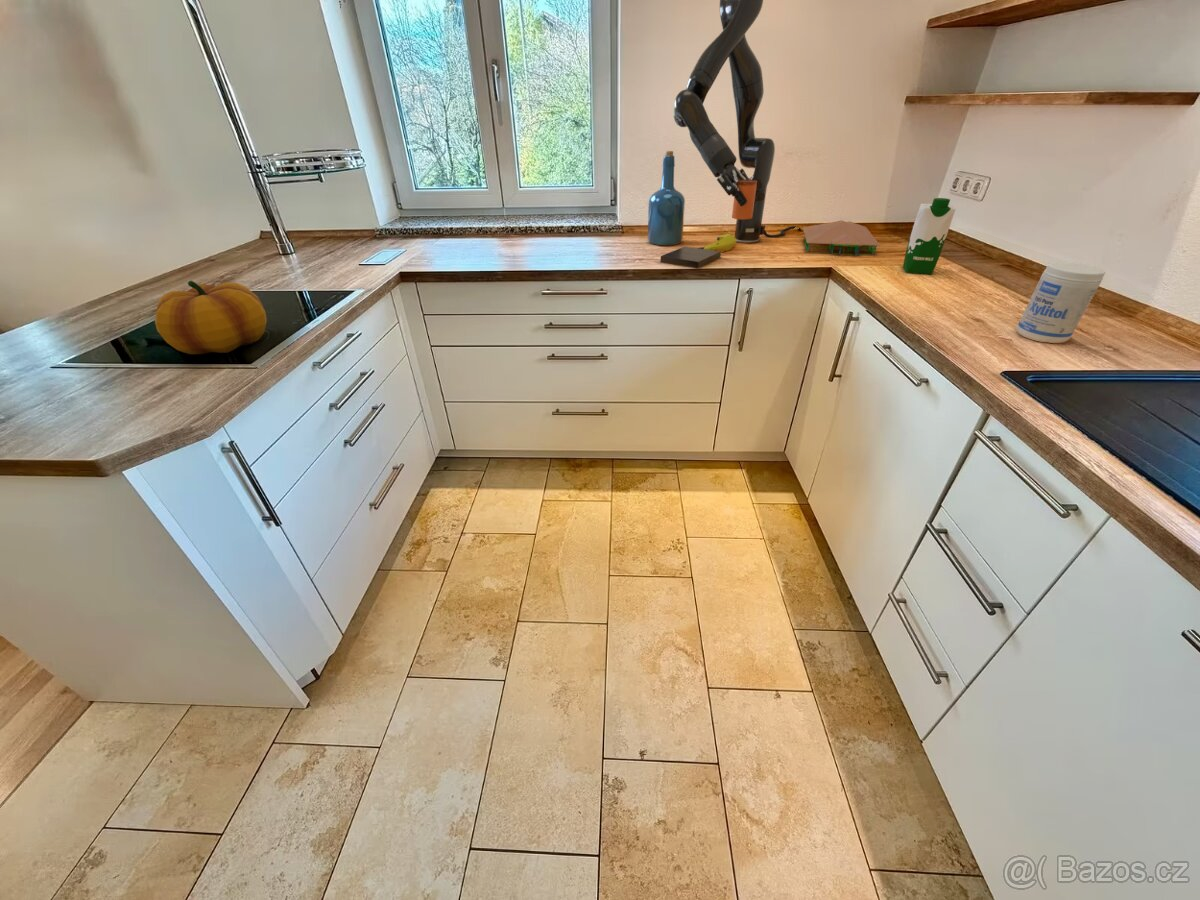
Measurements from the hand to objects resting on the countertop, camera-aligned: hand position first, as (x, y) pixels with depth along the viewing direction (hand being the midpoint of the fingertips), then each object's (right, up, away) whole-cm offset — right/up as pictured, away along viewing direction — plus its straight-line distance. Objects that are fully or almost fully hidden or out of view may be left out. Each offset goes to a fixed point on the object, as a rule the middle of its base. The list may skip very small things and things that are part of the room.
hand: (749, 202), depth 151 cm
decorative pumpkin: (-131, -50, -34) cm, 144 cm away
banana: (-3, 0, +34) cm, 34 cm away
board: (-14, -10, +20) cm, 26 cm away
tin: (-1, -3, +3) cm, 5 cm away
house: (+41, 0, +33) cm, 52 cm away
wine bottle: (-20, +5, +42) cm, 47 cm away
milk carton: (+52, -19, +4) cm, 56 cm away
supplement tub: (+52, -49, -40) cm, 82 cm away
